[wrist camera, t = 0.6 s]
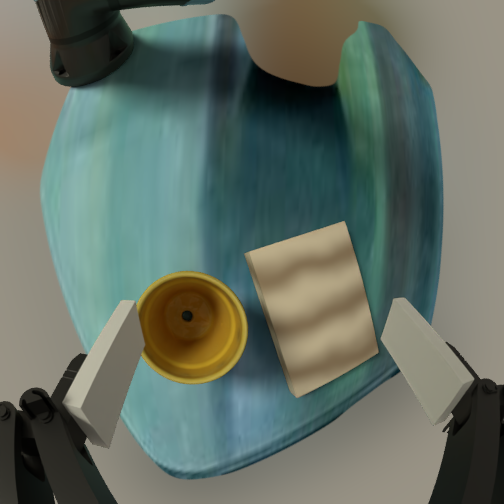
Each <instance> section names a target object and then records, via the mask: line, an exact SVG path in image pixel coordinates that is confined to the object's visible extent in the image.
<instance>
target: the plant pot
mask: <svg viewBox="0 0 504 504" xmlns="http://www.w3.org/2000/svg"><path fill="white" fill-rule="evenodd" d="M136 307H137V311H138V316H139V321H140V325H141V329H142V334H143V338H144V342H145V346H144V349H143V351H142V354H141V356H142V357H143V359H144V360H145V362H146V363H147V364H148V365H149V366H150V367H151V368H152V369H153V370H154V371H156V372H157V373H158V374H160V375H161V376H163V377H165V378H167V379H169V380H172V381H175V382H178V383H183V384H202V383H207V382H210V381H213V380H216V379H218V378H220V377H222V376H223V375H225V374H226V373H227V372H229V371H230V370H231V369H232V368H233V367H234V366H235V365H236V363H237V362H238V361H239V359H240V358H241V356H242V354H243V352H244V349H245V346H246V343H247V338H248V323H247V317H246V313H245V310H244V308H243V306H242V304H241V302H240V300H239V299H238V297H237V296H236V295H235V293H234V292H233V291H232V290H231V289H230V288H229V287H228V286H227V285H225V284H224V283H223V282H221V281H220V280H218V279H216V278H215V277H212V276H210V275H207V274H204V273H201V272H195V271H180V272H175V273H171V274H168V275H166V276H164V277H162V278H160V279H158V280H157V281H155V282H154V283H153V284H151V285H150V286H149V287H148V288H147V289H146V290H145V292H144V293H143V294H142V296H141V297H140V299H139V301H138V303H137V305H136ZM184 311H190V312H191V313H192V319H191V320H190V321H186V320H184V319H183V317H182V313H183V312H184Z"/></svg>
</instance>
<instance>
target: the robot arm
mask: <svg viewBox="0 0 504 504" xmlns="http://www.w3.org/2000/svg"><path fill="white" fill-rule="evenodd" d="M34 1H35V2H36V5H37V8H38V11H39V14H40V16H41V19H42V22H43V25H44V27H45V30H46V32H47V35H48V37H49V40H50V43H51V44H50V68H51V72H52V74H53V76H54V78H55V80H56V81H57V82H58V83H59V84H61V85H64V86H81V85H86V84H89V83H92V82H95V81H97V80H100V79H102V78H104V77H106V76H107V75H109V74H111V73H112V72H114V71H115V70H116V69H118V68H119V67H120V66H121V65H122V64H123V63H124V62H125V61H126V60H127V59H128V58H129V56H130V55H131V53H132V50H133V47H134V42H133V34H132V31H131V29H130V28H129V26H128V25H127V23H126V21H125V20H124V18H123V17H122V15H121V14H120V10H124V9H132V8H140V7H152V6H171V5H180V6H187V5H195V4H208V3H211V2H213V1H215V0H34ZM381 341H382V342H383V344H384V345H385V347H386V348H387V350H388V351H389V353H390V355H391V356H392V358H393V359H394V361H395V363H396V364H397V366H398V367H399V369H400V371H401V372H402V374H403V375H404V377H405V379H406V380H407V382H408V384H409V385H410V387H411V389H412V390H413V392H414V394H415V395H416V397H417V399H418V401H419V402H420V404H421V406H422V408H423V409H424V411H425V413H426V415H427V416H428V418H429V420H430V422H431V424H432V425H433V426H434V425H436V424H438V423H441V422H443V421H445V420H446V418H447V417H448V416H449V414H450V413H452V414H453V416H454V417H453V418H452V419H451V420H450V422H449V423H448V424H447V425H446V426H445V428H444V429H443V431H442V432H445V431H446V429H447V428H448V427H449V431H448V432H447V433H448V437H447V442H446V447H445V451H444V455H443V459H442V463H441V467H440V470H439V474H438V477H437V480H436V484H435V486H434V489H433V492H432V495H431V498H430V501H429V503H428V504H504V385H496V383H495V382H493V381H492V380H490V379H480V378H479V377H478V375H477V374H476V373H475V372H474V370H473V369H472V368H471V367H470V366H469V364H468V363H467V362H466V361H464V358H463V357H462V356H461V355H460V353H459V352H458V351H457V350H456V349H455V347H453V346H452V345H450V344H449V343H447V342H444V341H443V340H442V338H441V337H440V336H439V335H438V334H437V333H436V332H435V330H434V329H433V328H432V327H431V326H430V325H429V324H428V322H427V321H426V320H425V319H424V318H423V317H422V316H421V315H420V314H419V312H418V311H417V310H416V309H415V308H414V307H413V306H412V305H411V304H410V303H409V302H408V301H407V300H406V299H405V298H394V299H393V302H392V306H391V309H390V312H389V315H388V318H387V322H386V325H385V328H384V330H383V333H382V336H381ZM144 346H145V342H144V338H143V334H142V329H141V325H140V321H139V316H138V311H137V307H136V302H135V301H129V300H121V301H120V303H119V305H118V306H117V308H116V309H115V311H114V312H113V314H112V316H111V317H110V319H109V320H108V322H107V324H106V325H105V327H104V328H103V330H102V332H101V333H100V335H99V337H98V338H97V340H96V342H95V343H94V345H93V347H92V349H91V350H90V352H89V354H88V355H86V354H81V353H80V354H79V355H78V356H76V357H75V358H74V359H73V360H72V361H71V362H70V364H69V366H68V367H67V371H65V373H64V374H63V378H61V380H60V381H59V383H58V385H57V387H56V389H55V390H54V392H53V394H52V396H51V398H50V397H49V395H48V394H47V392H46V391H45V390H43V389H41V388H31V389H29V390H27V391H26V392H24V393H23V395H22V396H21V398H20V402H19V406H20V407H21V409H22V410H23V411H19V410H17V409H16V408H15V407H14V405H13V404H12V403H10V402H6V401H3V402H0V504H55V501H54V495H55V498H56V500H57V502H58V504H118V503H117V502H116V500H115V499H114V497H113V495H112V494H111V492H110V490H109V489H108V487H107V485H106V484H105V482H104V480H103V478H102V476H101V475H100V473H99V471H98V469H97V467H96V465H95V463H94V461H93V459H92V457H91V455H90V453H89V451H88V449H87V447H86V445H85V444H84V443H85V440H86V438H88V439H89V440H90V442H91V443H92V444H94V445H97V446H101V447H105V448H110V444H111V441H112V438H113V434H114V431H115V428H116V424H117V421H118V419H119V416H120V413H121V410H122V407H123V404H124V401H125V398H126V395H127V392H128V389H129V386H130V383H131V381H132V378H133V375H134V372H135V370H136V367H137V364H138V362H139V359H140V356H141V354H142V351H143V349H144ZM53 493H54V495H53Z"/></svg>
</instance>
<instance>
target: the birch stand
mask: <svg viewBox="0 0 504 504" xmlns="http://www.w3.org/2000/svg"><path fill="white" fill-rule="evenodd" d="M245 258H246V261H247V264H248V267H249V270H250V273H251V276H252V279H253V282H254V285H255V288H256V291H257V294H258V297H259V300H260V303H261V306H262V309H263V312H264V315H265V318H266V321H267V324H268V327H269V330H270V333H271V336H272V339H273V342H274V345H275V348H276V351H277V354H278V357H279V360H280V363H281V366H282V369H283V372H284V375H285V378H286V381H287V384H288V387H289V390H290V392H291V393H292V394H293V395H294V396H295V397H296V398H298V397H300V396H302V395H304V394H307V393H309V392H311V391H313V390H315V389H316V388H318V387H320V386H322V385H324V384H326V383H328V382H330V381H332V380H333V379H335V378H337V377H339V376H341V375H342V374H344V373H346V372H348V371H349V370H351V369H353V368H354V367H356V366H358V365H360V364H361V363H363V362H364V361H366V360H368V359H369V358H371V357H372V356H374V355H376V354H377V353H379V352H378V346H377V341H376V336H375V332H374V327H373V322H372V318H371V313H370V309H369V305H368V301H367V297H366V293H365V289H364V285H363V281H362V277H361V274H360V270H359V267H358V263H357V260H356V256H355V253H354V249H353V246H352V243H351V240H350V236H349V233H348V230H347V227H346V224H345V221H343V222H340V223H337V224H334V225H331V226H328V227H325V228H322V229H318V230H315V231H312V232H309V233H306V234H303V235H300V236H297V237H294V238H290V239H287V240H284V241H281V242H278V243H275V244H272V245H269V246H266V247H262V248H259V249H256V250H253V251H250V252H247V253H245Z"/></svg>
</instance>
